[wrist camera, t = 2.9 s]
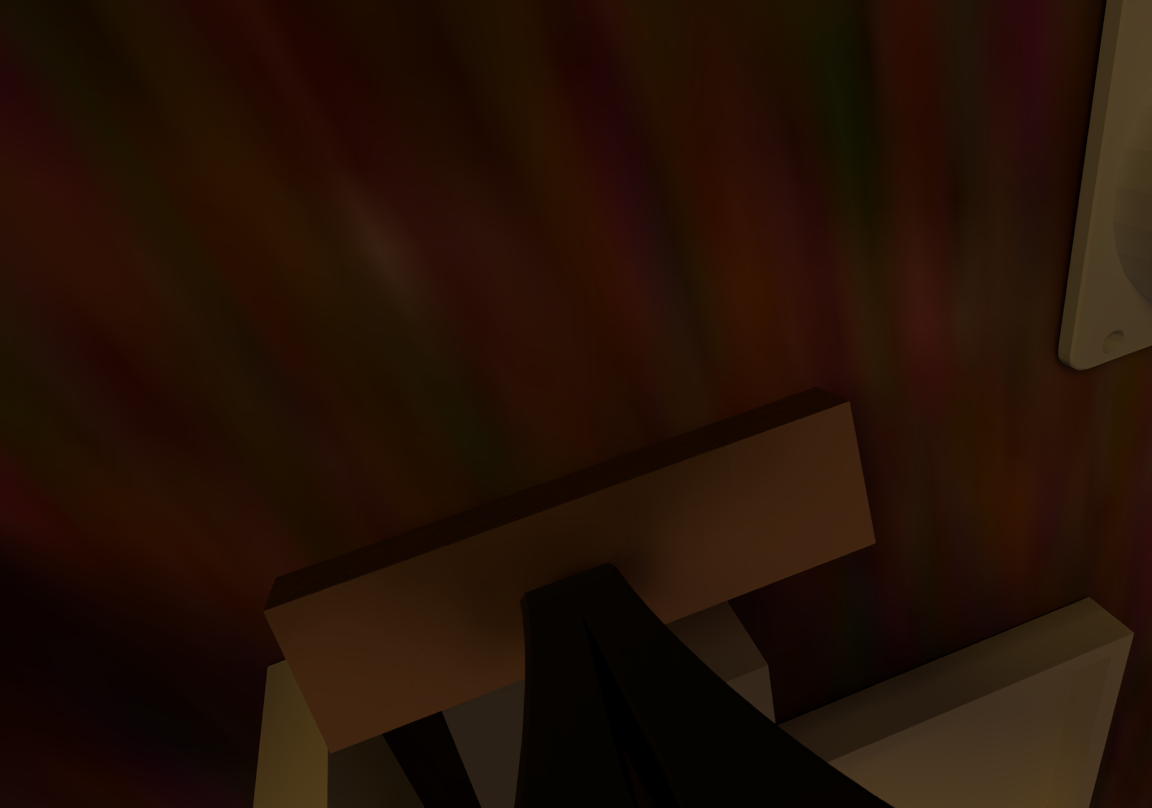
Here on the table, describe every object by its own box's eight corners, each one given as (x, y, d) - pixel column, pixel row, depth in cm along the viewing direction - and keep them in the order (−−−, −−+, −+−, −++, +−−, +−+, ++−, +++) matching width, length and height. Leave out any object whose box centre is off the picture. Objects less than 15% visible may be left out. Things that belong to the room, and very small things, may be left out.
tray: (1089, 596, 21) (1134, 632, 20) (1048, 795, 26) (1082, 833, 25) (764, 730, 20) (791, 777, 19) (789, 911, 25) (811, 956, 24)
